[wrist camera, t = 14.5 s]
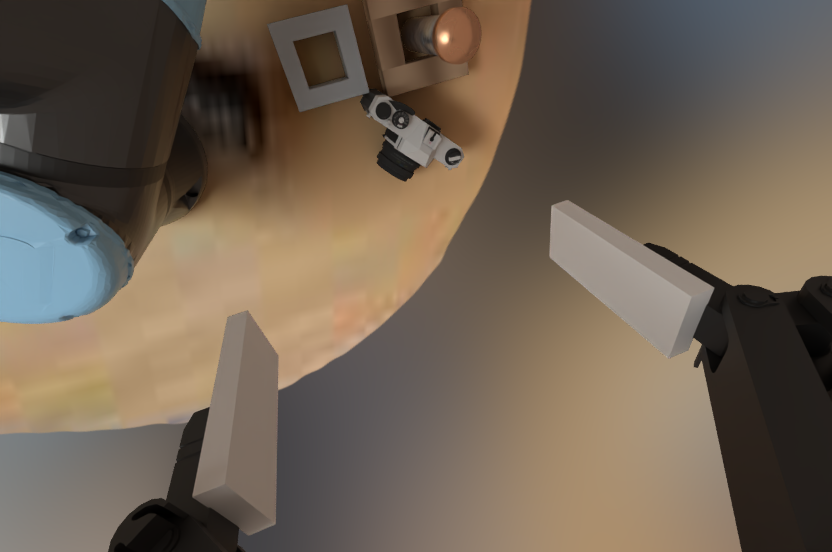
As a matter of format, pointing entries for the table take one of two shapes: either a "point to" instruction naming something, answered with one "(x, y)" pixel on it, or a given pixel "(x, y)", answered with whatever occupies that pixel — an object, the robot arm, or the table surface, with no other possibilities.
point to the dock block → (386, 41)
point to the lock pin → (444, 35)
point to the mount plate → (348, 51)
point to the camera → (408, 137)
